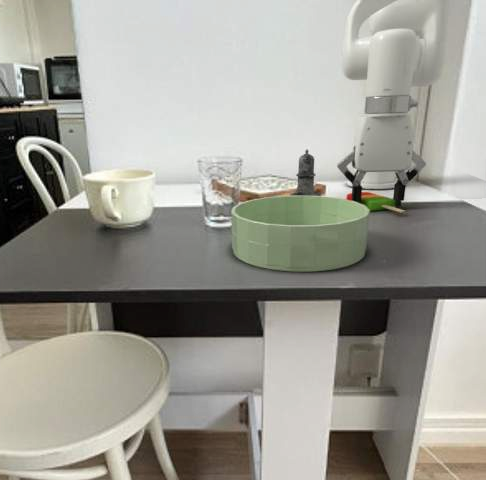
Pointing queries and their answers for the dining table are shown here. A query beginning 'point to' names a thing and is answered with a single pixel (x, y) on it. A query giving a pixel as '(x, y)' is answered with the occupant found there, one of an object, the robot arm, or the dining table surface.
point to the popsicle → (376, 202)
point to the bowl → (300, 232)
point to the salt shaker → (306, 176)
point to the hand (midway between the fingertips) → (376, 204)
